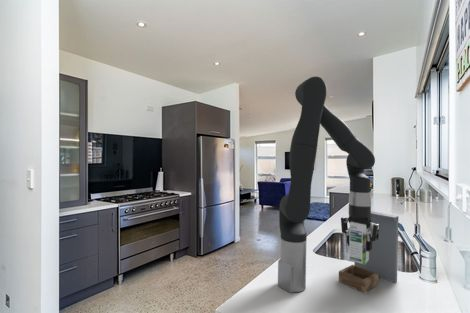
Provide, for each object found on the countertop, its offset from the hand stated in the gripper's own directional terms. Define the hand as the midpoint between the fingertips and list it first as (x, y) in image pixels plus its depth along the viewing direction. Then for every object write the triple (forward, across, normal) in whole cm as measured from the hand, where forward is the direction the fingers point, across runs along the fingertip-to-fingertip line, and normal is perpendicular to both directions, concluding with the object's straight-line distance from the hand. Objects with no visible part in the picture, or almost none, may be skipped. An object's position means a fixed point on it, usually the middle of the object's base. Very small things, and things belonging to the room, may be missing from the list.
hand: (359, 248), depth 97 cm
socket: (+13, 0, 0) cm, 13 cm away
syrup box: (+5, 0, 0) cm, 5 cm away
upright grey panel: (+13, 0, +12) cm, 18 cm away
